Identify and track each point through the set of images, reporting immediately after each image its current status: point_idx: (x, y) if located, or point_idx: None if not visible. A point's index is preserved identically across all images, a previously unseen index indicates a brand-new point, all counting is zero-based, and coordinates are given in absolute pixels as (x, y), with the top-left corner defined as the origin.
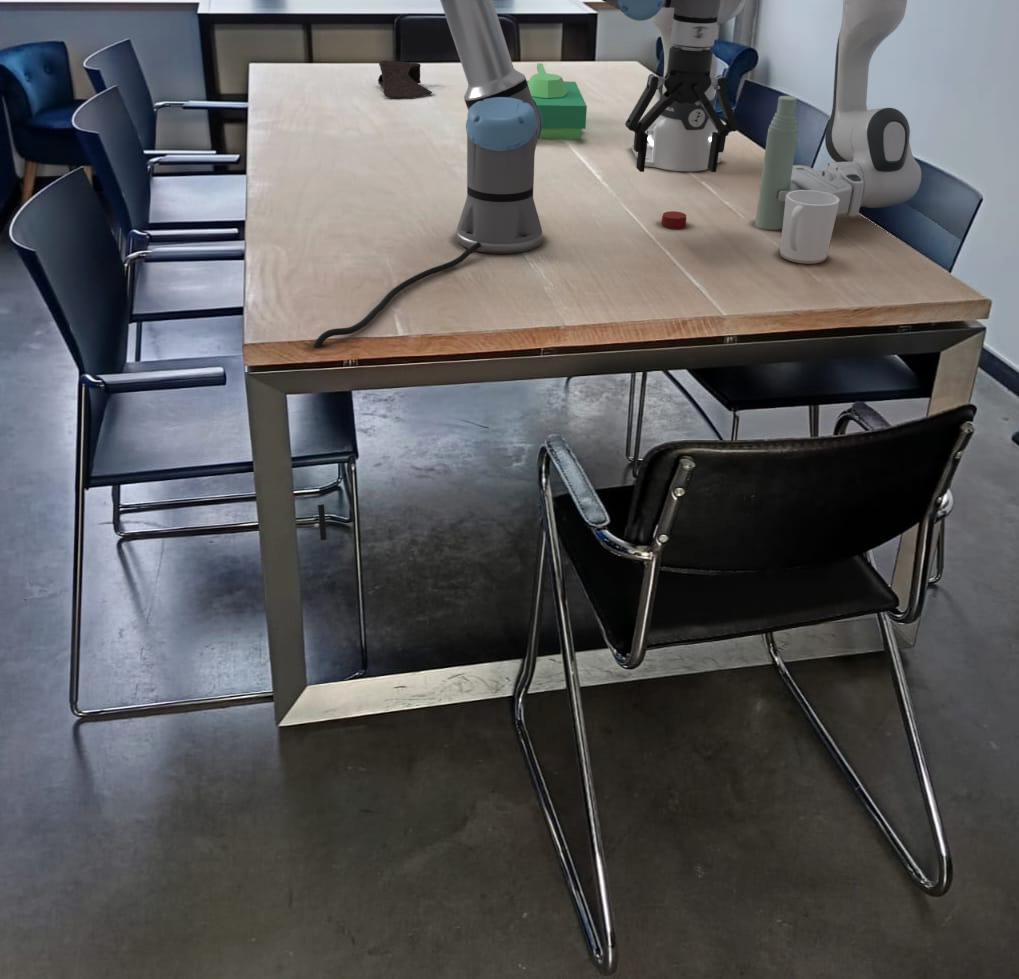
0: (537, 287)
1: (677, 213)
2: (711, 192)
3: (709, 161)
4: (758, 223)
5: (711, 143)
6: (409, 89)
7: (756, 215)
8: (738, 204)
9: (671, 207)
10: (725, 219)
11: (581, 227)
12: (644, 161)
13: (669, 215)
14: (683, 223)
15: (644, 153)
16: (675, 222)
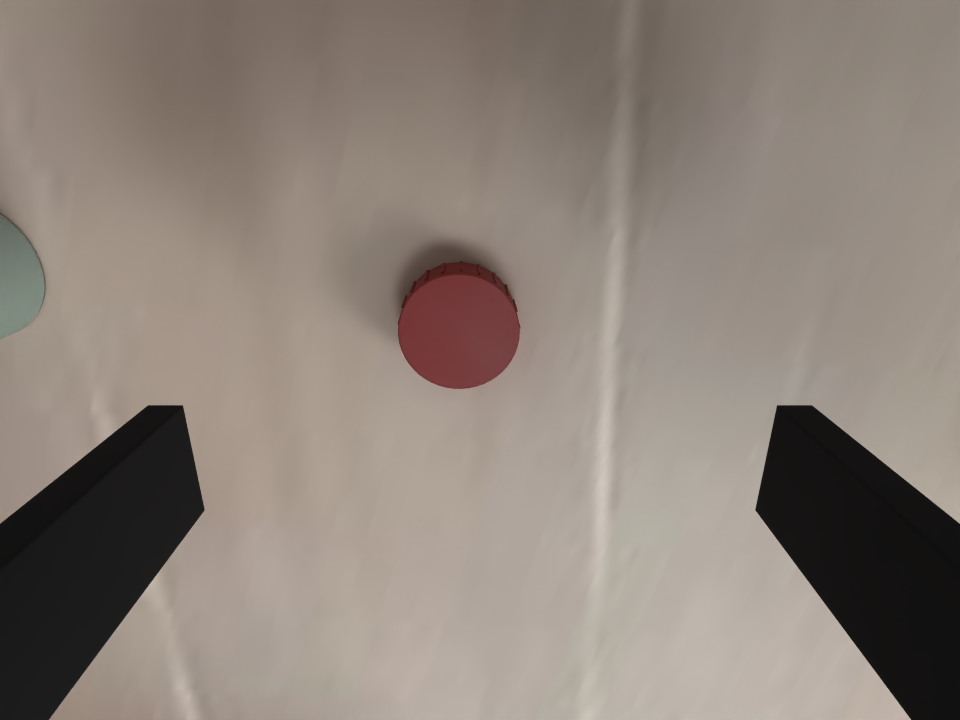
0: None
1: (438, 352)
2: (193, 690)
3: (170, 524)
4: (18, 249)
5: (71, 668)
6: None
7: (8, 293)
8: None
9: (402, 543)
10: (186, 378)
11: (895, 326)
12: (834, 448)
13: (488, 325)
14: (422, 278)
15: (896, 491)
16: (469, 269)
